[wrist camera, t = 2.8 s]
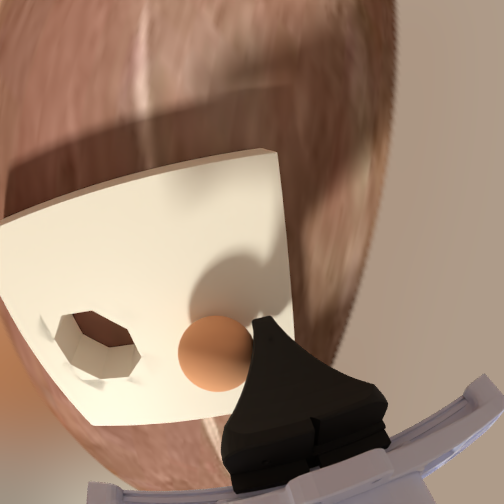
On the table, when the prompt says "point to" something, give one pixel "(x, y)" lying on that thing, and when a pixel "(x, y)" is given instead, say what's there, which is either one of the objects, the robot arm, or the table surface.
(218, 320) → the ball
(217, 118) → the table surface
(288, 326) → the hole board
